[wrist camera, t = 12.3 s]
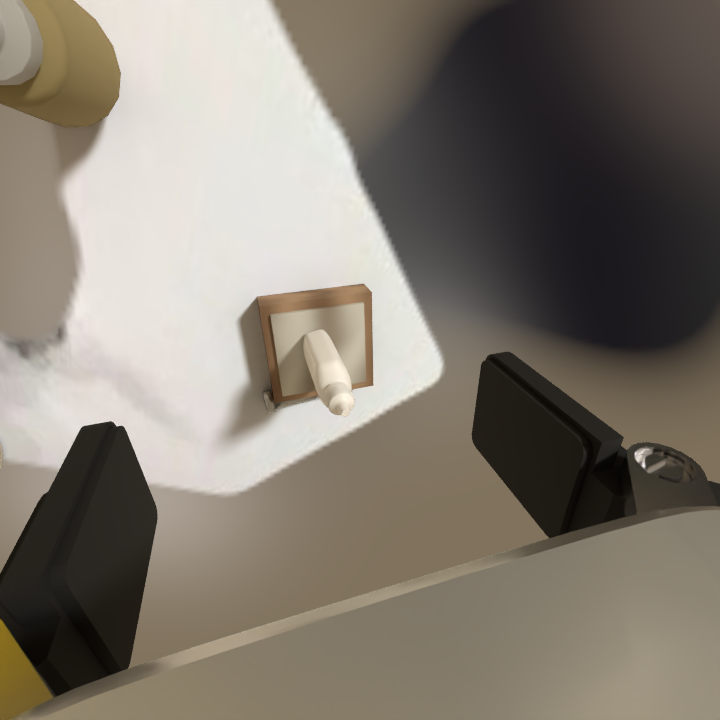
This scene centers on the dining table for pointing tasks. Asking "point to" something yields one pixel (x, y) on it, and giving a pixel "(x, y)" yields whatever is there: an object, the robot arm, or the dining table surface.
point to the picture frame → (310, 313)
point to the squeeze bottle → (56, 62)
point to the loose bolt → (272, 405)
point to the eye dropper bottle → (328, 373)
